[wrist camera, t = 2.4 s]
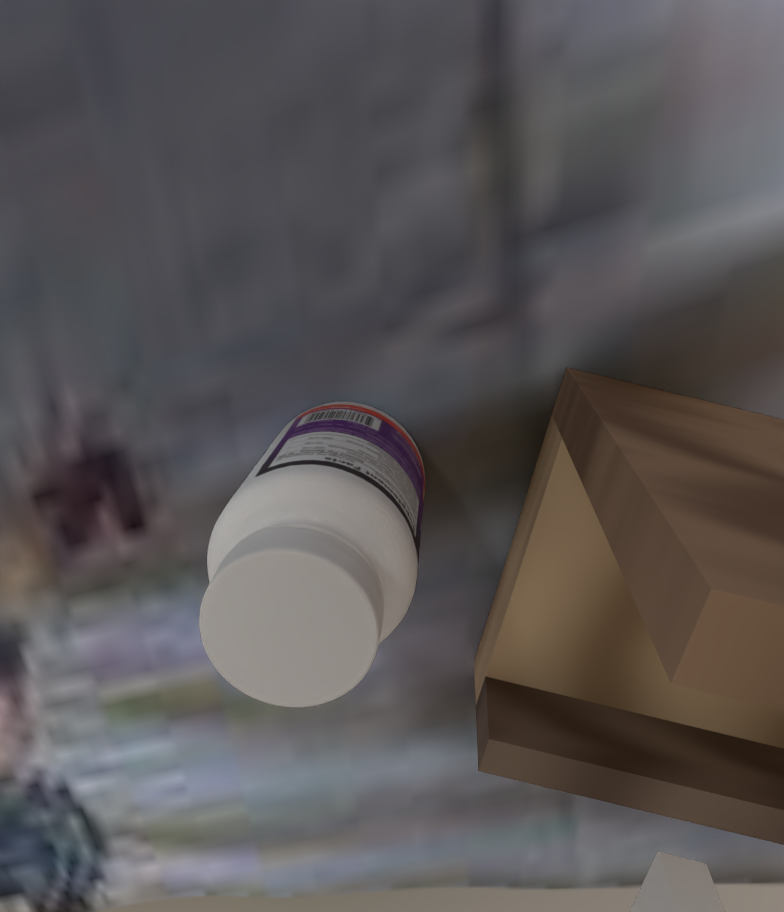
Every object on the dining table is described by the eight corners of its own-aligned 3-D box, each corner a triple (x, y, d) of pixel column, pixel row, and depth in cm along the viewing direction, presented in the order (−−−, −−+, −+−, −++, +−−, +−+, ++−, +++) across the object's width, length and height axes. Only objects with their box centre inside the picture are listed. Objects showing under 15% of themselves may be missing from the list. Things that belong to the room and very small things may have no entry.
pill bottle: (350, 574, 26) (295, 774, 17) (237, 472, 25) (115, 626, 16) (460, 476, 25) (464, 640, 16) (345, 363, 24) (276, 467, 15)
